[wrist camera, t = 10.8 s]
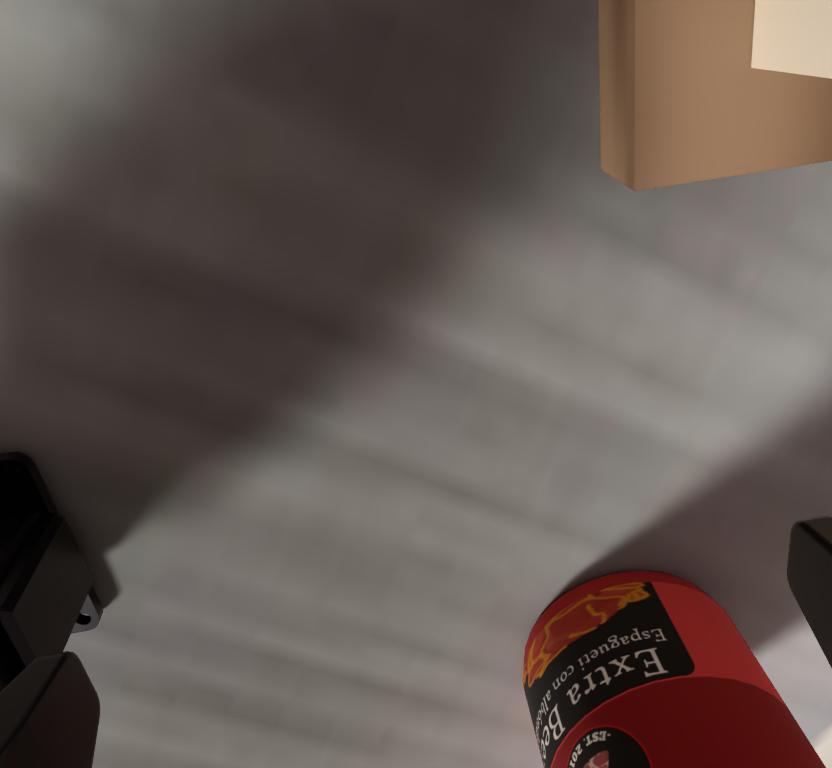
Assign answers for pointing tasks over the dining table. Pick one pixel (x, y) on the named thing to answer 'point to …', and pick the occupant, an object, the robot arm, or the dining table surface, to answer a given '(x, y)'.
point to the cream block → (793, 37)
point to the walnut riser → (699, 96)
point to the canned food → (653, 682)
